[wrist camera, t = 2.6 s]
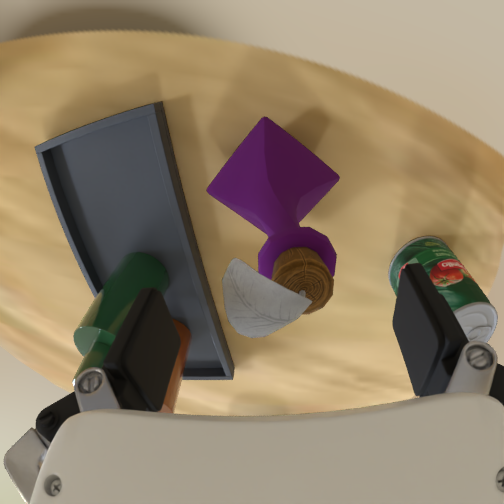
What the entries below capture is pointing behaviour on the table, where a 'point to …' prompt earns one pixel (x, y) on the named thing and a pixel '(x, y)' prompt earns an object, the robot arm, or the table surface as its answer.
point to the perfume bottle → (276, 231)
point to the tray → (135, 219)
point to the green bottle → (116, 306)
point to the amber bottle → (177, 369)
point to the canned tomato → (449, 284)
